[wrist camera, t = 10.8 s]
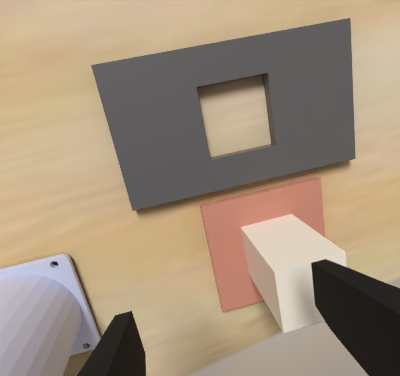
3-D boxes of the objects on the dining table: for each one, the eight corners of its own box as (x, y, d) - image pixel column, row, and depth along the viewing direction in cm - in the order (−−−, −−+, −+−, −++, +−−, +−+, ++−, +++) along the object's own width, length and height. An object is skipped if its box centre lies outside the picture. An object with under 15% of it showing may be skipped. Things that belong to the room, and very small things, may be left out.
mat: (221, 308, 22) (222, 312, 21) (200, 205, 19) (201, 207, 19) (325, 280, 22) (328, 282, 22) (317, 177, 20) (320, 178, 20)
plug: (248, 273, 21) (283, 333, 15) (240, 227, 20) (274, 272, 14) (297, 260, 21) (349, 313, 15) (291, 213, 20) (345, 252, 14)
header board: (133, 207, 18) (132, 210, 18) (94, 67, 16) (91, 65, 15) (347, 157, 20) (355, 158, 19) (342, 22, 17) (350, 18, 17)
